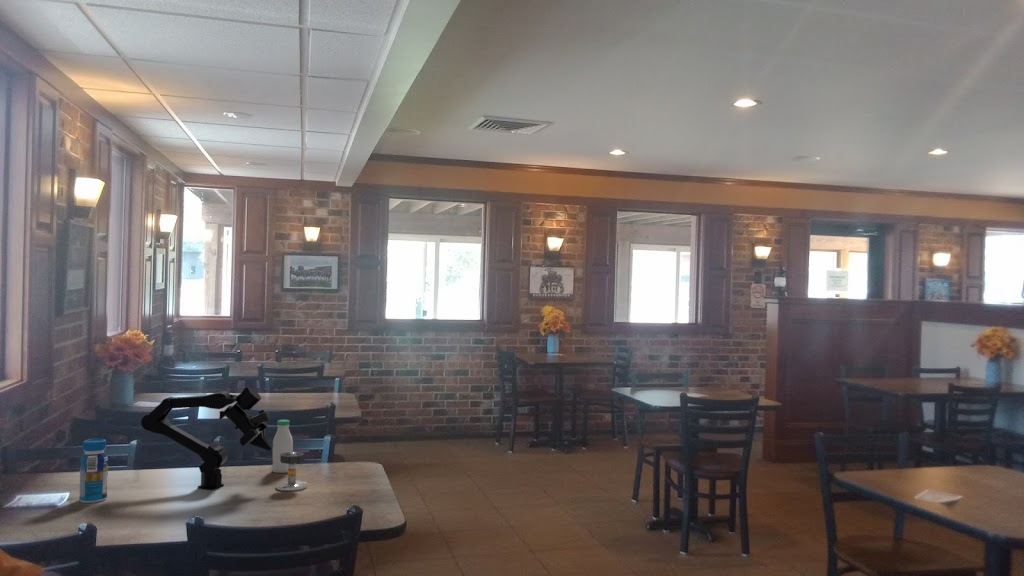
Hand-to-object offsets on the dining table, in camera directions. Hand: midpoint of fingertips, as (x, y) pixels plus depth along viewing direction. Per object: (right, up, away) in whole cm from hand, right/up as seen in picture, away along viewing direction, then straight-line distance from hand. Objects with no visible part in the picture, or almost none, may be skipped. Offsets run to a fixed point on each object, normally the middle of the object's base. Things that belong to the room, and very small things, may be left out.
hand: (270, 449), depth 270 cm
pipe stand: (+7, -14, +1) cm, 16 cm away
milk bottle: (-3, -14, +24) cm, 28 cm away
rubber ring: (+8, -4, +1) cm, 9 cm away
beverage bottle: (-53, -13, -21) cm, 58 cm away
